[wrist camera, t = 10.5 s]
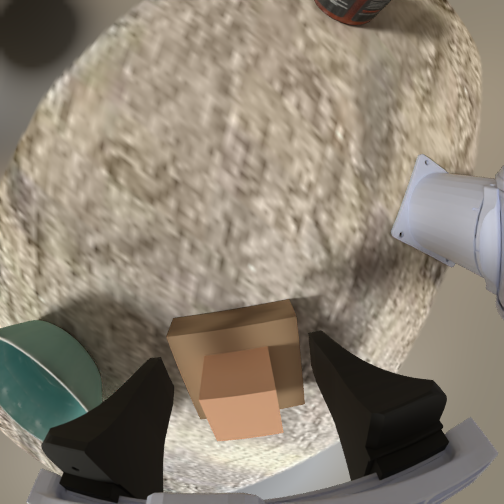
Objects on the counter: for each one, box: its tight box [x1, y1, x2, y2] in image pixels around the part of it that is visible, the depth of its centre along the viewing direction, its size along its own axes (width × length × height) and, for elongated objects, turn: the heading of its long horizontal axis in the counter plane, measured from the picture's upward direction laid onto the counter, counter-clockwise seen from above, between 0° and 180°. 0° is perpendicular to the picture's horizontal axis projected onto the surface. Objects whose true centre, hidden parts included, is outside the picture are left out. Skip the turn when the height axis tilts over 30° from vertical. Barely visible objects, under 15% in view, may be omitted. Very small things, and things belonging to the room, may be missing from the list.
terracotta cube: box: [199, 346, 283, 441], centre depth 19 cm, size 5×5×5 cm
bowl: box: [0, 320, 102, 442], centre depth 20 cm, size 16×16×8 cm
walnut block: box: [166, 299, 305, 419], centre depth 23 cm, size 10×10×3 cm
